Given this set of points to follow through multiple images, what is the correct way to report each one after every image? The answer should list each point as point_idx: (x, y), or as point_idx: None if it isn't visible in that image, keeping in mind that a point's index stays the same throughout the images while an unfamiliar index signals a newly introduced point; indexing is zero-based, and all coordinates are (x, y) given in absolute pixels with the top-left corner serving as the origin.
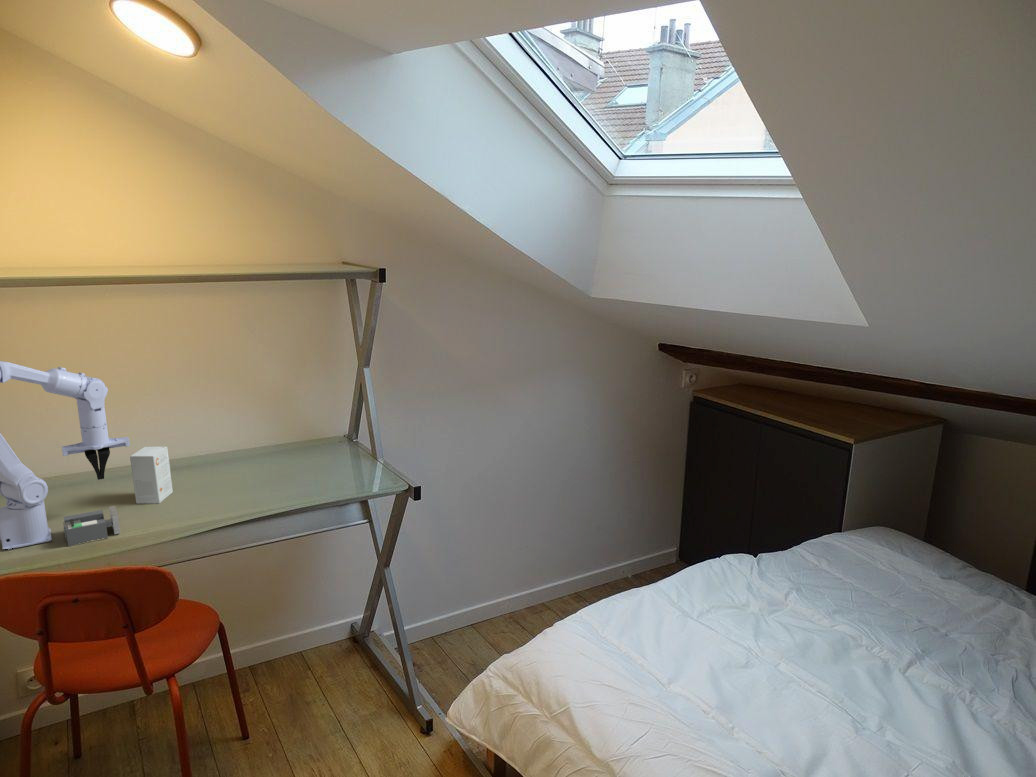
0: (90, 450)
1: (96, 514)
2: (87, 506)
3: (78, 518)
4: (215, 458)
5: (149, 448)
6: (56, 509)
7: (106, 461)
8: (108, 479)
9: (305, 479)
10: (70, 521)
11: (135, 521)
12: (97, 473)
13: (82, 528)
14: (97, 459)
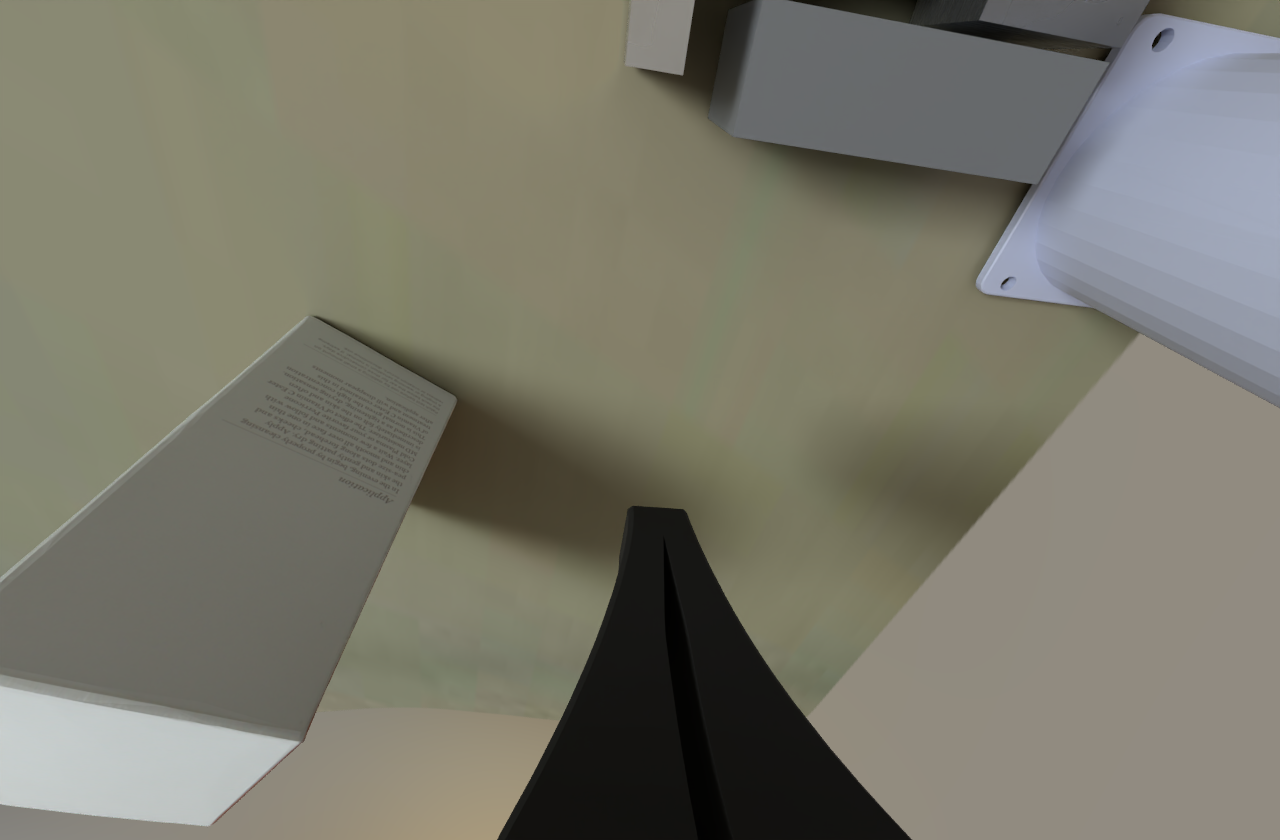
0: None
1: (828, 8)
2: (683, 490)
3: (987, 41)
4: None
5: (129, 803)
6: (796, 524)
7: (576, 702)
8: (547, 665)
9: None
10: None
11: (478, 18)
12: (698, 561)
13: None
14: (722, 777)
